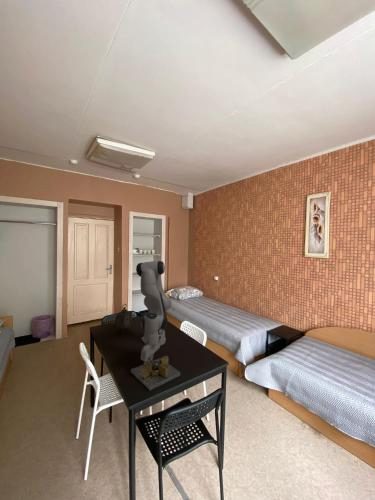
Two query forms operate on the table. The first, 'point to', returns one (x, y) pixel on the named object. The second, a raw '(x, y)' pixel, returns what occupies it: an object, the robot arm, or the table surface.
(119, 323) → the tabletop clock
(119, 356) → the table surface
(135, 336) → the table surface
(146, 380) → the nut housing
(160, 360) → the gold propeller
